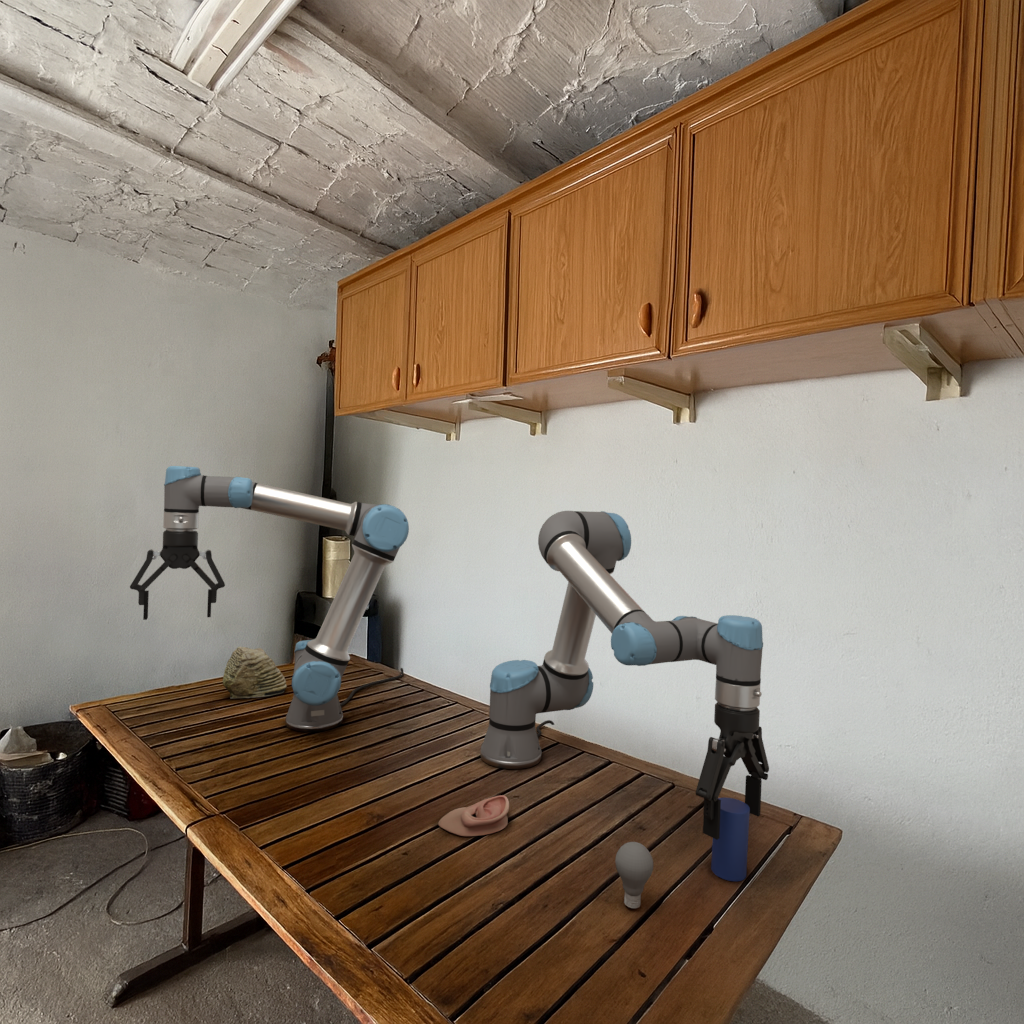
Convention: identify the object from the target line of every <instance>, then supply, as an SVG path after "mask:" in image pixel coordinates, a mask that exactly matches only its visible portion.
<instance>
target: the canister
mask: <svg viewBox="0 0 1024 1024" xmlns="http://www.w3.org/2000/svg"><path fill="white" fill-rule="evenodd" d="M718 799H719V800H721V809H720V834H719V839H717V840H716V839H714V838H712V843H711V862H710V863H711V864H710V869H711V871H712V873H713V874H714V875H715V876H716V877H718V878H720V879H721V880H722V879H723V880H725V881H729V882H742V881H744V880H745V879H746V878H747V871H748V870H747V869H748V851H749V849H748V848H749V832H750V814H751V813H750V808H749V806H748V805H747V804H746V803H745V801H742V800H740V799H737V798H734V797H724V796H723V797H718Z"/></svg>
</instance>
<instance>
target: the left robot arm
mask: <svg viewBox="0 0 1024 1024" xmlns="http://www.w3.org/2000/svg"><path fill="white" fill-rule="evenodd" d="M163 488H164V493H163V494H164V495H163V496H164V497H163V499H164V501H163V526H162V527H163V529H165V530H164V531H163V532H162V548H161V550H154V549H149V550H148V551H147V552H146V558H145V561H144V562H143V564H142V565H141V567H140V569H139V570H138V572H137V574H136V575H135V577H134V579H133V580H132V582H131V583H130V585H129V589H131V590H134V591H136V592H137V593H138V599H137V600H138V606H143V614H142V615H143V619H142V620H144V621H147V620H148V619H149V596H150V595H149V593H150V590H147V588H149V586H151V585H152V584H153V582H154V581H156V579H158V578H159V576H160V575H161V574H162V573H163V572H164V571H165V570H166V569H168V568H170V569H172V570H177V569H182V570H186V569H190V568H191V569H192V570H193V571H194V572H195V573H196V574H197V575H198V576H199V577H200V578H201V579H202V581H204V582H205V584H206V585H207V586H208V587H209V589H207V608H206V609H207V612H206V617H207V618H211V617H212V604H216V603H217V599H218V598H217V596H218V595H217V593H218V590H219V589H222V588H225V586H226V583H225V581H224V579H223V577H222V575H221V574H220V571H219V569H218V567H217V565H216V564H215V562H214V560H213V555H212V550H211V549H207V550H199V548H198V545H199V532H198V531H197V530H198V529H199V521H200V519H199V518H200V517H199V516H200V507H215V508H234V509H242V510H243V509H244V510H250V511H254V512H258V513H262V514H268V515H272V516H277V517H282V518H286V519H291V520H295V521H298V522H299V521H301V522H304V523H308V524H314V525H318V526H323V527H327V528H331V529H337V530H341V531H344V532H345V533H346V534H347V535H348V536H351V537H354V539H353V541H352V543H351V546H352V549H353V555H352V558H351V560H350V562H349V565H348V567H347V570H346V571H345V574H344V575H343V577H342V580H341V582H340V585H339V587H338V588H337V591H336V593H335V596H334V597H333V600H332V602H331V604H330V607H329V608H328V611H327V613H326V615H325V618H324V619H323V622H322V625H321V627H320V629H319V631H318V633H317V636H316V637H315V638H313V639H306V640H305V639H304V640H300V641H298V642H296V643H295V648H294V650H293V651H294V667H293V673H292V677H291V688H292V691H293V695H292V696H293V697H292V699H291V702H290V704H289V708H288V711H287V713H286V715H285V726H286V728H287V729H289V730H291V731H294V732H295V731H296V732H301V733H316V732H325V731H329V730H332V729H335V728H337V727H339V726H340V725H342V723H343V722H344V714H343V709H342V707H343V706H345V705H346V704H347V703H348V702H349V701H350V700H351V699H352V698H353V696H354V694H355V693H356V692H358V691H360V690H362V689H364V688H367V687H370V686H374V685H378V684H383V683H386V682H390V681H394V680H397V679H400V678H401V677H403V675H404V667H401V668H399V671H400V674H398V675H396V676H392V677H387V678H384V679H380V680H376V681H372V682H368V683H366V684H363V685H360V686H358V687H355V689H353V690H352V691H351V692H350V694H349V696H348V697H346V699H345V700H344V701H342V702H340V699H339V695H338V693H339V692H340V690H341V687H342V678H343V676H344V673H345V672H346V669H347V666H348V664H349V662H350V660H351V656H350V654H349V648H350V646H351V643H352V641H353V639H354V636H355V634H356V632H357V630H358V628H359V625H360V624H361V621H362V618H363V616H364V614H365V612H366V610H367V607H368V605H369V603H370V601H371V599H372V597H373V594H374V592H375V589H376V588H377V585H378V583H379V581H380V578H381V576H382V574H383V572H384V570H385V567H386V566H388V565H390V564H393V563H394V561H395V559H396V557H397V555H398V552H399V550H400V548H401V547H402V546H403V545H404V544H405V542H406V541H407V539H408V536H409V533H410V532H409V531H410V525H409V521H408V518H407V516H406V515H405V513H404V512H403V511H402V510H401V509H400V508H398V507H397V506H394V505H392V504H388V503H387V504H386V503H385V504H384V503H378V504H377V503H365V502H360V501H354V502H352V503H348V502H343V501H339V500H335V499H330V498H326V497H321V496H317V495H312V494H309V493H304V492H299V491H297V490H296V491H295V490H291V489H287V488H281V487H277V486H274V485H273V486H272V485H269V484H264V483H259V482H255V481H253V480H252V479H251V478H250V477H241V476H220V475H219V476H217V475H216V476H215V475H204V474H202V473H201V469H200V468H199V467H197V466H183V465H170V466H168V467H167V468H166V470H165V478H164V484H163ZM200 556H201V557H202V559H203V560H206V563H207V564H208V567H209V568H210V571H211V572H212V574H213V576H214V578H215V579H216V581H217V583H215V581H213V580H212V579H211V578H210V577H209V576H208V574H207V573H206V572H205V571H204V570H203V569H202V568H201V567H200V565H198V563H197V562H196V561H197V560H198V558H199V557H200ZM157 557H160V558H161V559H162V560H163V563H162V564H161V565H160V566H159V567H158V568H157V569H156V570H155V571H154V572H153V573H152V574H151V575H150V576H149V577H148V578H147V579H146V580H145V581H144V582H143V583H142V584H139V583H140V581H141V580H142V578H143V576H144V575H145V573H146V572H147V570H148V568H149V567H150V565H151V563H152V561H153V560H156V559H157ZM401 674H402V675H401Z"/></svg>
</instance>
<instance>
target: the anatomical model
mask: <svg viewBox="0 0 1024 1024" xmlns="http://www.w3.org/2000/svg"><path fill="white" fill-rule="evenodd" d="M509 810H510V801H509V798H508V797H507V796H506V795H504V794H502V795H501V794H500V795H495V796H491V797H488V798H485V799H482V800H481V801H478V802H476V803H474V804H472V805H469V806H466V807H464V806H463V807H459V808H455V809H453V810H450V811H449V812H447V813H446V814H445V815H444V816H442V817H441V818H440V819H439V821H438V822H437V825H438V826H439V827H440V828H442V829H443V830H445V831H447V832H448V833H451V834H454V835H457V836H460V837H478V836H485V835H490V834H495V833H497V832H500V831H502V830H504V829H505V828H506V827H507V826H508V824H509V823H508V822H509V821H508V820H509V819H508V813H509Z"/></svg>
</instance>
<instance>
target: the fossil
mask: <svg viewBox="0 0 1024 1024" xmlns="http://www.w3.org/2000/svg"><path fill="white" fill-rule="evenodd" d="M222 676H223V677H222V685H223V687H224V688H225V690H226V691H228V693H229V698H230V699H250V698H264V697H271V696H275V695H281V694H284V693H285V691H286V689H287V687H288V686H287V680H286V678H285V676H284V674H283V673H282V672H281V669H279V668H278V667H277V665H276V663H275V662H274V660H273V659H272V658H271V657H270V656H269V655H268V654H267V653H266V652H265V650H264V649H263V648H260V647H258V648H251V647H247V646H246V647H245V646H238V647H237V648H236V649H235V650H233V651H232V653H231V656H230V657H229V659H228V660H227V663H226V666H225V668H224V671H223V675H222Z"/></svg>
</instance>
